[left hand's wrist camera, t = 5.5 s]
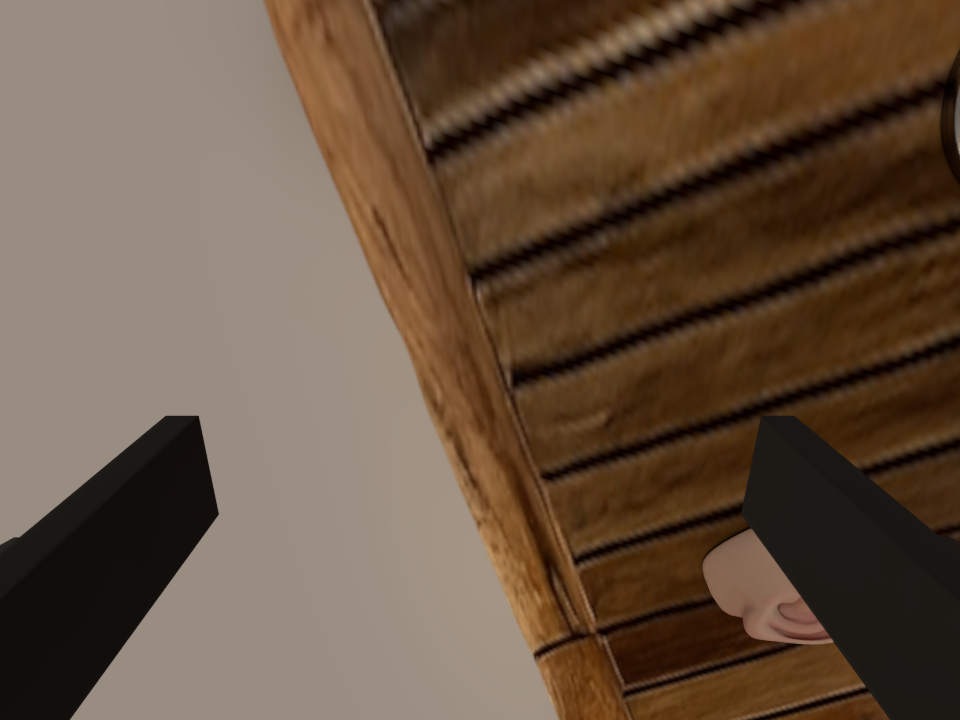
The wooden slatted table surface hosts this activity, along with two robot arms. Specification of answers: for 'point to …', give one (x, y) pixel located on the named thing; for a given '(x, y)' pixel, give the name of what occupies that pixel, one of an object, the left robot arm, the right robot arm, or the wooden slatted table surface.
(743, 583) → the anatomical model
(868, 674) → the left robot arm
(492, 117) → the wooden slatted table surface
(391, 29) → the wooden slatted table surface
